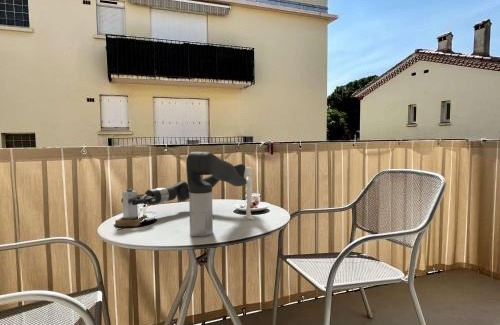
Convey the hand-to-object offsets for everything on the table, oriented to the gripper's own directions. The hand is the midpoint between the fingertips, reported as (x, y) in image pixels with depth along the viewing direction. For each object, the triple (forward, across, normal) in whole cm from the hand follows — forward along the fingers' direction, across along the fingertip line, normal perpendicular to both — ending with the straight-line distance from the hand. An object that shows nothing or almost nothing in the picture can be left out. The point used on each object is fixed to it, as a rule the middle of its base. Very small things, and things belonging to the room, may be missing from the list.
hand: (127, 201), depth 140 cm
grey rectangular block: (-2, 0, -10) cm, 10 cm away
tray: (-2, 0, -10) cm, 10 cm away
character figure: (-39, -40, -10) cm, 57 cm away
